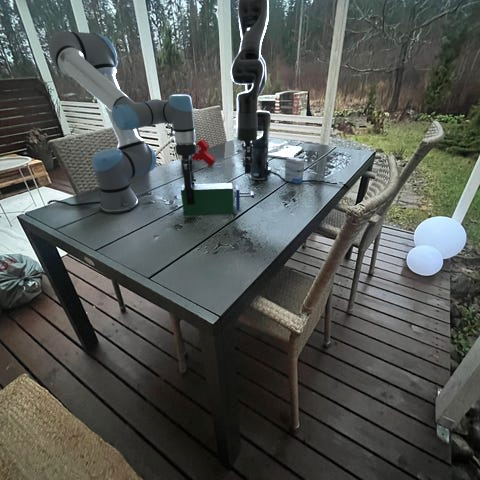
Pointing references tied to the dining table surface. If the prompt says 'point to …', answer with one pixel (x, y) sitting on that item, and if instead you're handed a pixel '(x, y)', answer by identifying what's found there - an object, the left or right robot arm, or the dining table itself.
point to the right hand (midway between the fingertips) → (246, 169)
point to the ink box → (294, 170)
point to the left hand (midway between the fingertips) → (191, 200)
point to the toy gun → (203, 153)
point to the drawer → (242, 196)
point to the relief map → (282, 150)
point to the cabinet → (209, 199)
